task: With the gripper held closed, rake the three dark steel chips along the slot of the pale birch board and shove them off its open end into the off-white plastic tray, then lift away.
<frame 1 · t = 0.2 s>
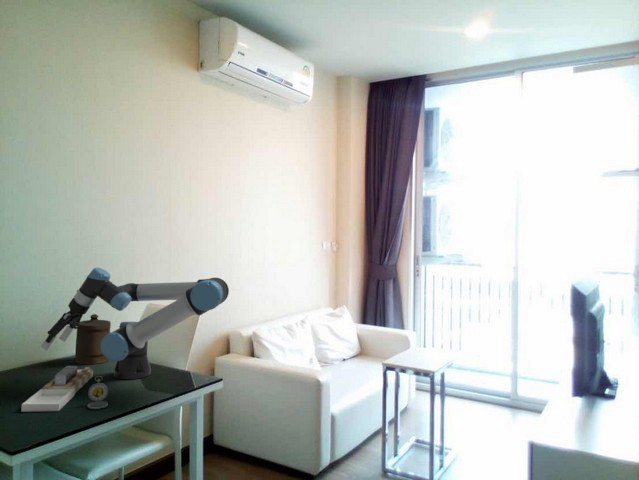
hand: (53, 344, 201), 15 cm above the table, tool tilted 35°, fingers open, 13 cm apart
tray: (49, 403, 176), on the table
slot board: (69, 385, 196), on the table
chip middle: (66, 380, 193), point 3 cm above the table, touching slot board
wooden container: (92, 360, 233), on the table
pocket watch: (98, 406, 176), on the table
chip back: (70, 377, 197), point 3 cm above the table, touching slot board
chip front: (62, 384, 188), point 3 cm above the table, touching slot board
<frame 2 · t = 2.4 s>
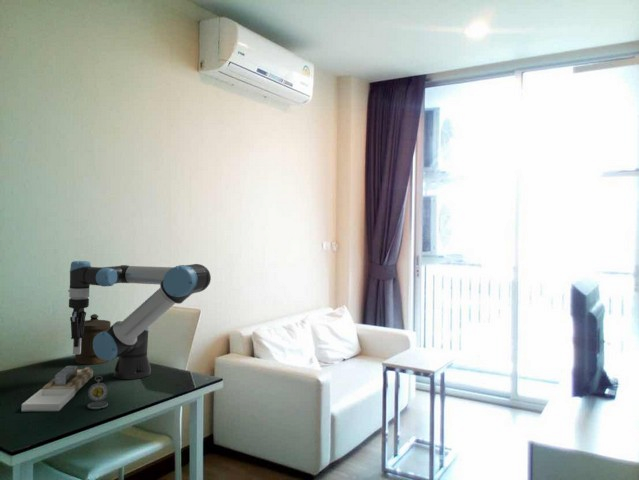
hand: (76, 353, 205), 10 cm above the table, tool pointing down, fingers closed
nothing on the table moved.
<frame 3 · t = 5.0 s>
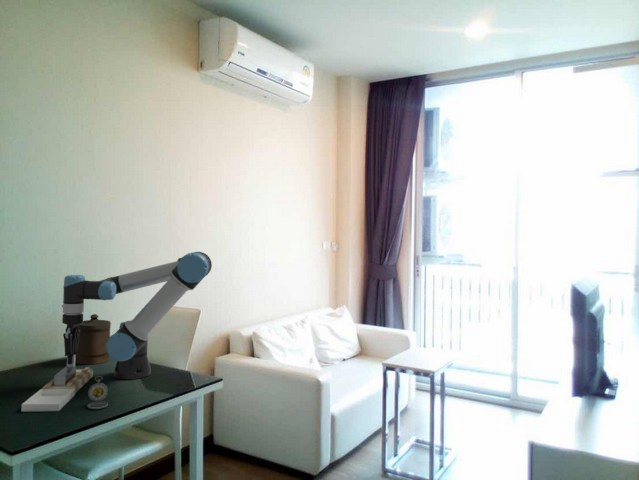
hand: (70, 371, 198), 5 cm above the table, tool pointing down, fingers closed
chip middle: (65, 381, 192), point 3 cm above the table, touching chip back
chip back: (68, 378, 196), point 3 cm above the table, touching chip middle, gripper
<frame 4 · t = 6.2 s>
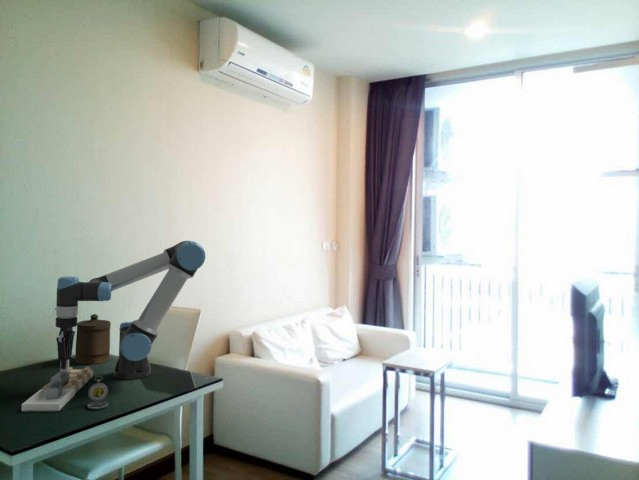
hand: (64, 376, 191), 5 cm above the table, tool pointing down, fingers closed
chip middle: (58, 387, 185), point 3 cm above the table, touching chip back, chip front
chip back: (61, 383, 189), point 3 cm above the table, touching chip middle, gripper, slot board
chip front: (56, 390, 183), point 3 cm above the table, tilted 90°, touching chip middle, tray
everything else where it was.
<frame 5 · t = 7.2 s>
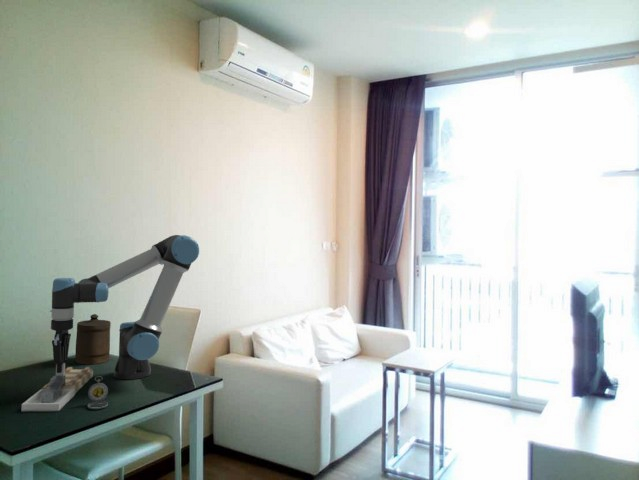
hand: (60, 380, 186), 5 cm above the table, tool pointing down, fingers closed
chip middle: (53, 397, 180), point 1 cm above the table, touching chip back, chip front
chip back: (57, 387, 184), point 3 cm above the table, touching chip middle, gripper
chip front: (51, 393, 178), point 3 cm above the table, tilted 92°, touching chip middle
everything else where it was.
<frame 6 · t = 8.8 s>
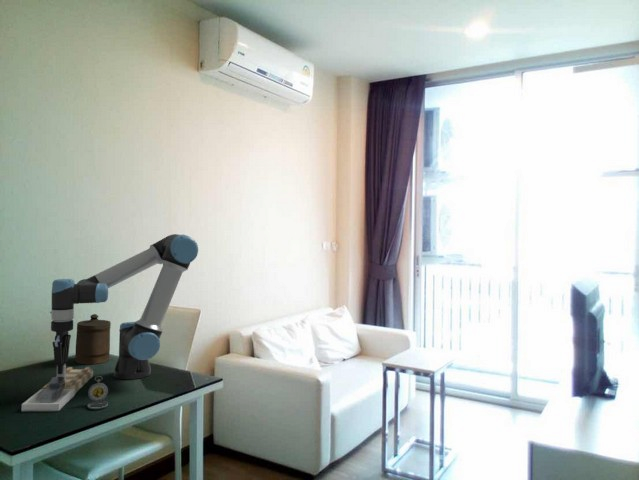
hand: (61, 381, 186), 5 cm above the table, tool pointing down, fingers closed
chip middle: (52, 399, 179), resting on tray, touching chip back
chip back: (57, 389, 183), point 3 cm above the table, tilted 19°, touching chip middle, slot board
chip front: (50, 395, 177), point 2 cm above the table, tilted 90°, touching tray
everything else where it was.
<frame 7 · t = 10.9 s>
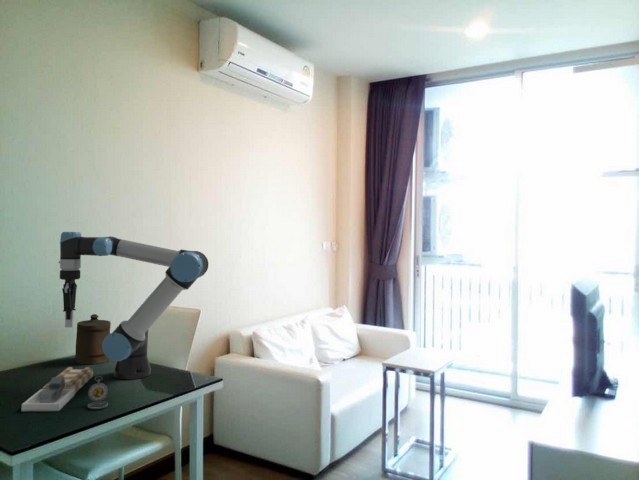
hand: (69, 326, 200), 23 cm above the table, tool pointing down, fingers closed
nothing on the table moved.
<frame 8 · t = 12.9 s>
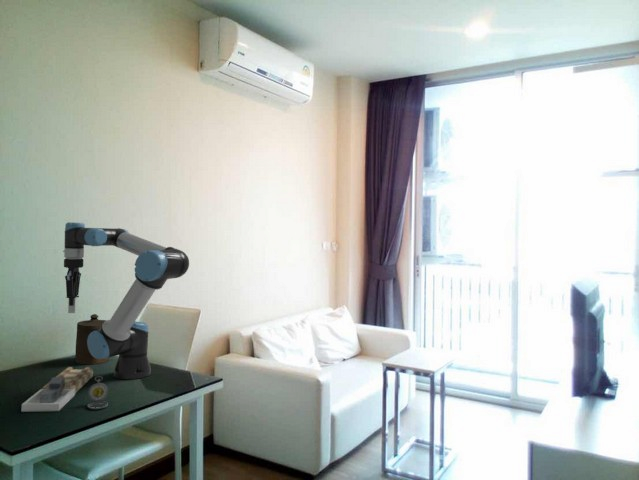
hand: (72, 312, 211), 26 cm above the table, tool pointing down, fingers closed
nothing on the table moved.
at the end: chip back inside the target area on the tray (7.3 cm from its centre), point 2.7 cm above the tray's base; chip middle inside the target area on the tray (2.5 cm from its centre), point 0.5 cm above the tray's base; chip front inside the target area on the tray (0.5 cm from its centre), point 2.5 cm above the tray's base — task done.
